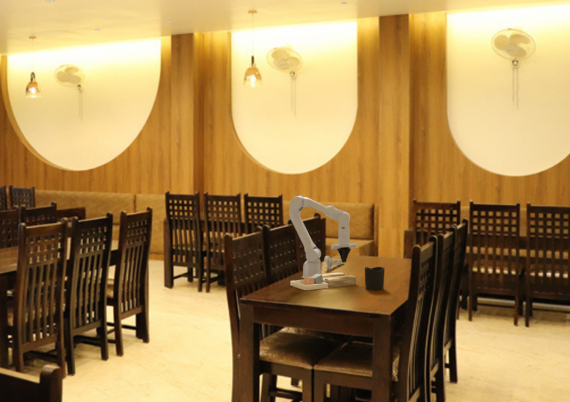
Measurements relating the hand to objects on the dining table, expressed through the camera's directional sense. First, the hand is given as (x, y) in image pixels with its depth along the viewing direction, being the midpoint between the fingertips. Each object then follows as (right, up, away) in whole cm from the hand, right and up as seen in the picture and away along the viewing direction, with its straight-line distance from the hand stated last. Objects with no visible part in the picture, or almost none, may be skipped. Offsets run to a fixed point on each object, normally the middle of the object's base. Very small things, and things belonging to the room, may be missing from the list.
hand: (343, 262), depth 329 cm
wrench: (-2, -7, +41) cm, 42 cm away
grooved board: (-5, -10, -9) cm, 15 cm away
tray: (-18, -10, -17) cm, 27 cm away
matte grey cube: (-14, -8, -15) cm, 22 cm away
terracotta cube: (-17, -8, -16) cm, 25 cm away
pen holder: (+13, -11, -21) cm, 27 cm away
